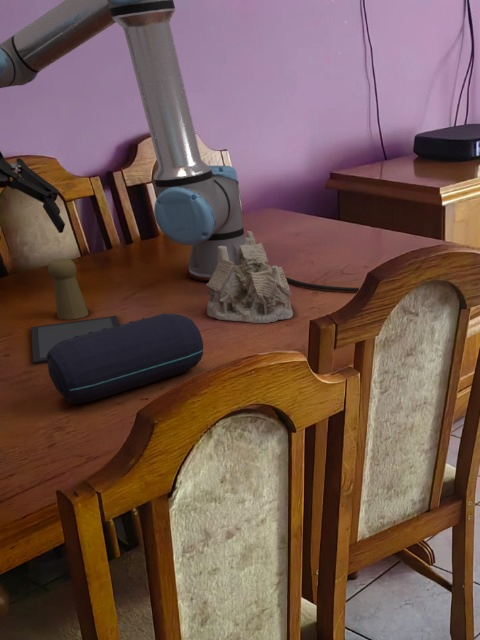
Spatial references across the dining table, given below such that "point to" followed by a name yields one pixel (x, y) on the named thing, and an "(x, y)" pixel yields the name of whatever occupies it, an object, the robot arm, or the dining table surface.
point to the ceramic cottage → (248, 287)
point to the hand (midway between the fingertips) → (31, 235)
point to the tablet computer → (64, 334)
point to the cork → (67, 290)
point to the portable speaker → (124, 357)
